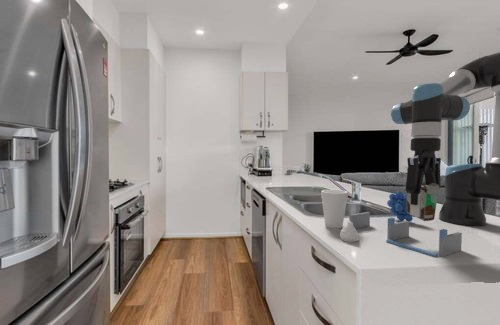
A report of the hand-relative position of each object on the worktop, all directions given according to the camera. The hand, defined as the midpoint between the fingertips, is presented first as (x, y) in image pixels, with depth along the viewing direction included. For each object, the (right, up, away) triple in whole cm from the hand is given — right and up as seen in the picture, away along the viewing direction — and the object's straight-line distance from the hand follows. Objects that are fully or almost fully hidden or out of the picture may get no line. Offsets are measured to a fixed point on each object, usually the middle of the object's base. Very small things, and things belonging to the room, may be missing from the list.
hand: (422, 214), depth 83 cm
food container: (+1, -1, 0) cm, 1 cm away
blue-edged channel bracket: (-4, -9, +7) cm, 12 cm away
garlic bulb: (-20, -9, +5) cm, 23 cm away
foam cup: (-20, -9, +22) cm, 31 cm away
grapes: (+9, -8, +29) cm, 32 cm away
